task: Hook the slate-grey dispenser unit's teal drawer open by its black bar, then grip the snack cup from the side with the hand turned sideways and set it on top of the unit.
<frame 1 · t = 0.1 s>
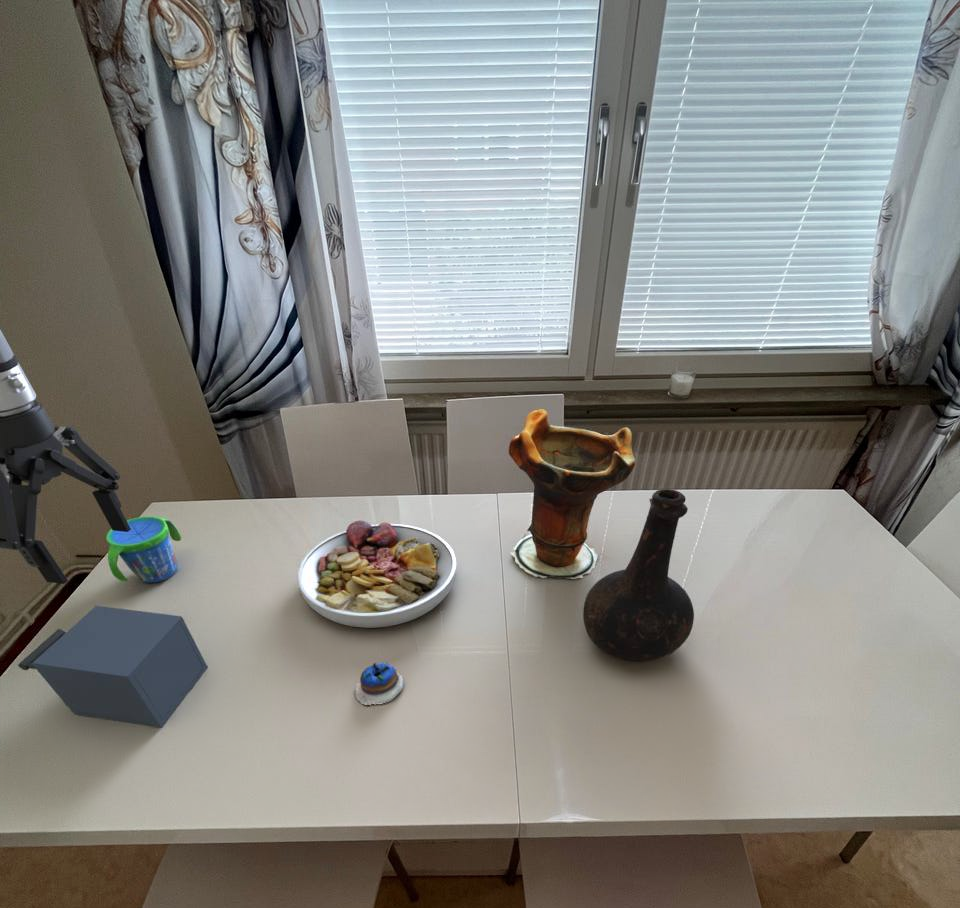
hand: (91, 554, 79), 19 cm above the table, tool pointing down, fingers open, 13 cm apart
drawer: (99, 661, 82), point 6 cm above the table, slide at 0.0 cm, touching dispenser
snack cup: (158, 574, 108), on the table
glass bottle: (629, 642, 93), on the table
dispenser: (144, 689, 85), on the table
bowl: (381, 586, 105), on the table
decorative vase: (559, 557, 112), on the table
dessert: (379, 688, 86), on the table
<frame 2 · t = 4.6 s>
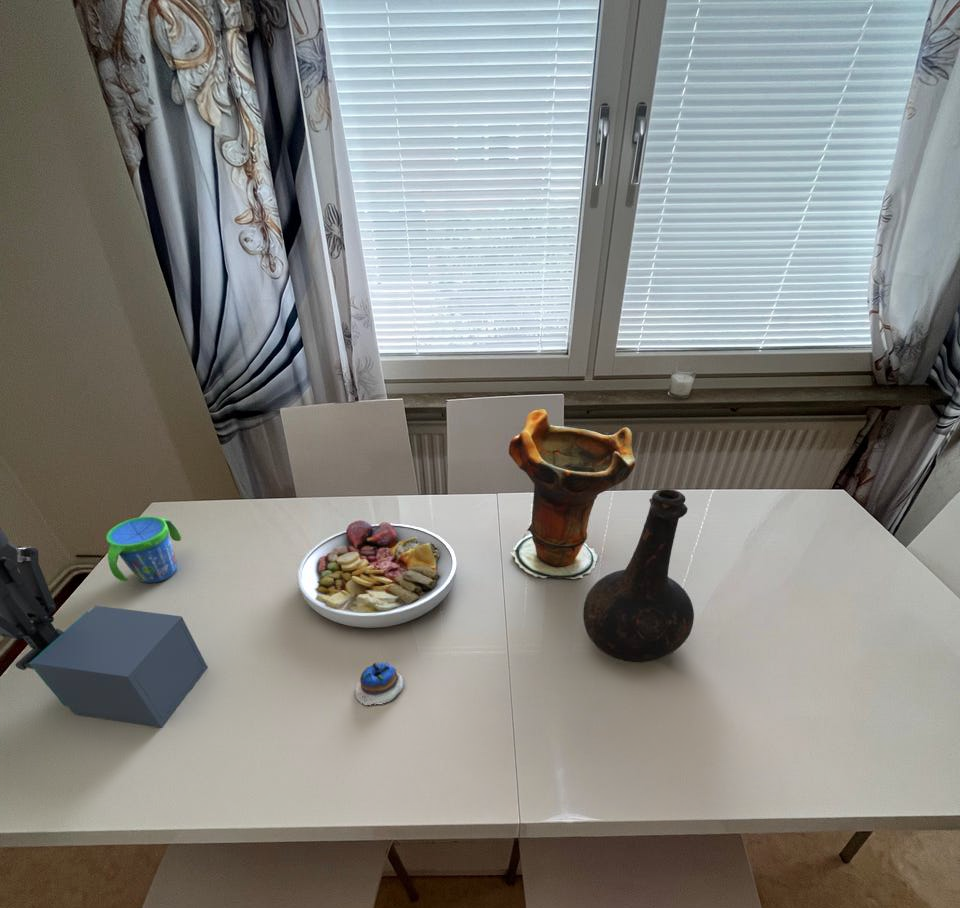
hand: (58, 657, 83), 5 cm above the table, tool pointing down, fingers closed
drawer: (96, 661, 82), point 6 cm above the table, slide at 0.5 cm
everything else where it was.
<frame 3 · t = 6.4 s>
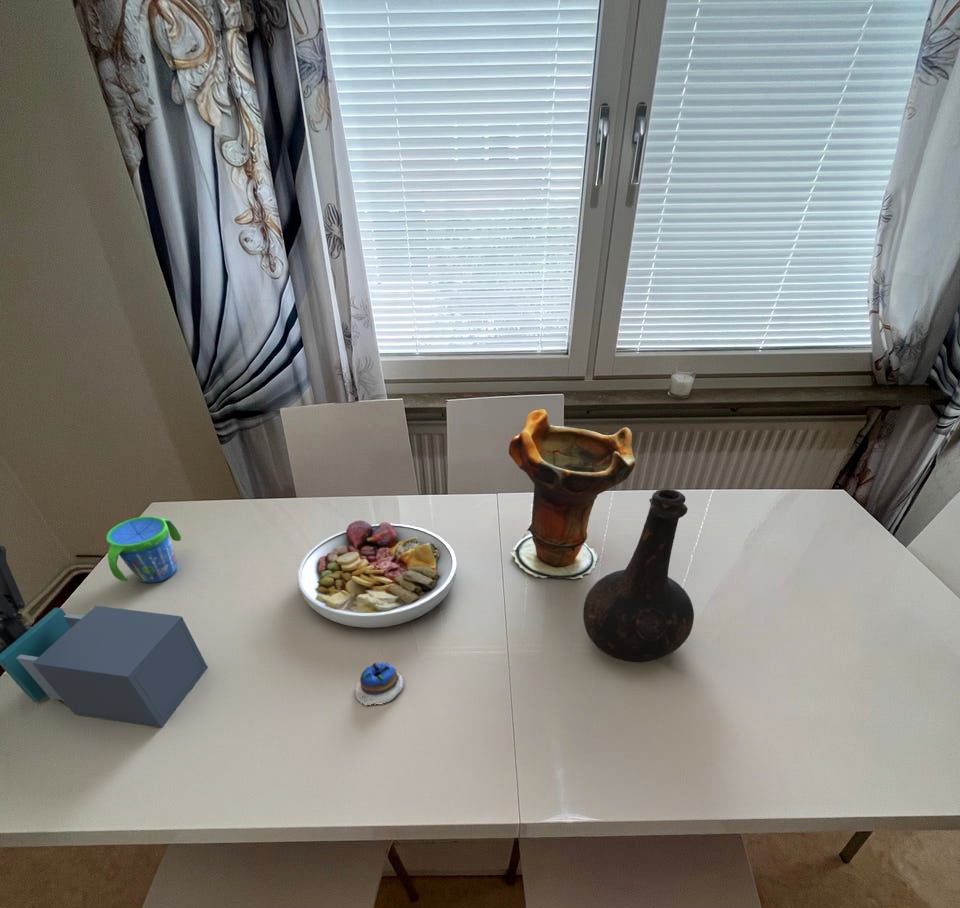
hand: (28, 654, 84), 5 cm above the table, tool pointing down, fingers closed
drawer: (64, 656, 83), point 6 cm above the table, slide at 6.1 cm, touching gripper
everything else where it was.
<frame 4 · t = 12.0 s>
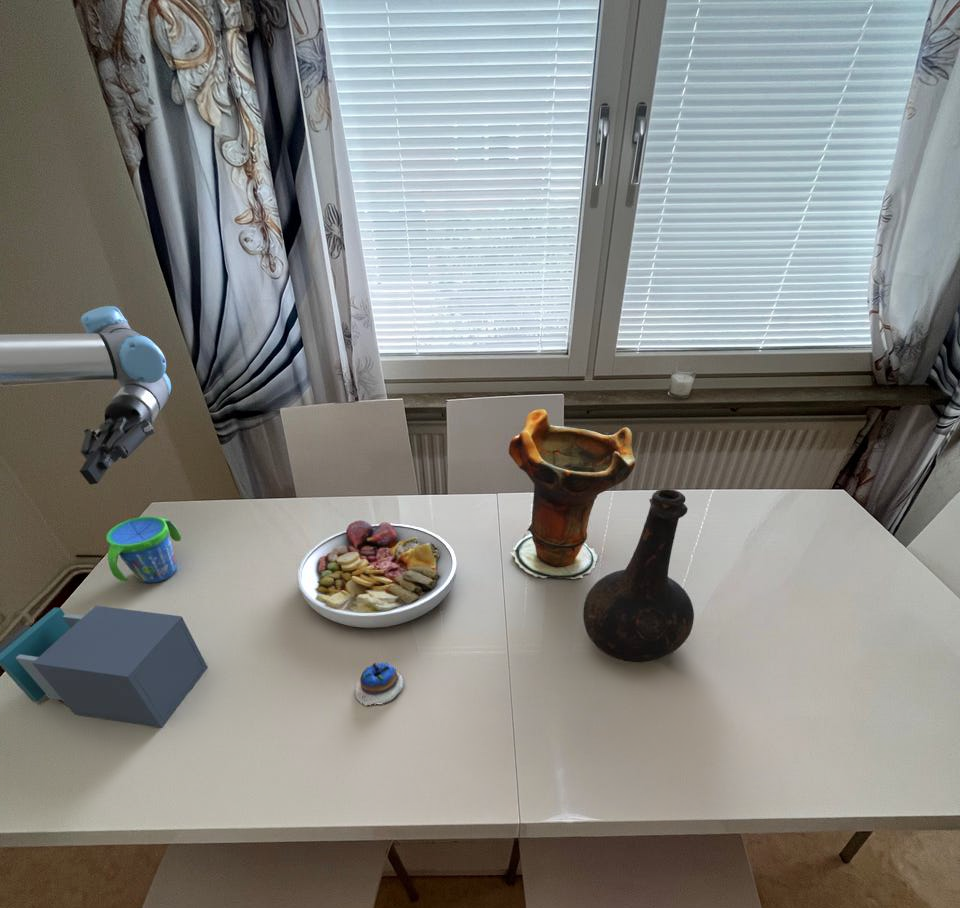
hand: (88, 477, 92), 22 cm above the table, tool horizontal, fingers closed
drawer: (63, 656, 83), point 6 cm above the table, slide at 6.2 cm
everything else where it was.
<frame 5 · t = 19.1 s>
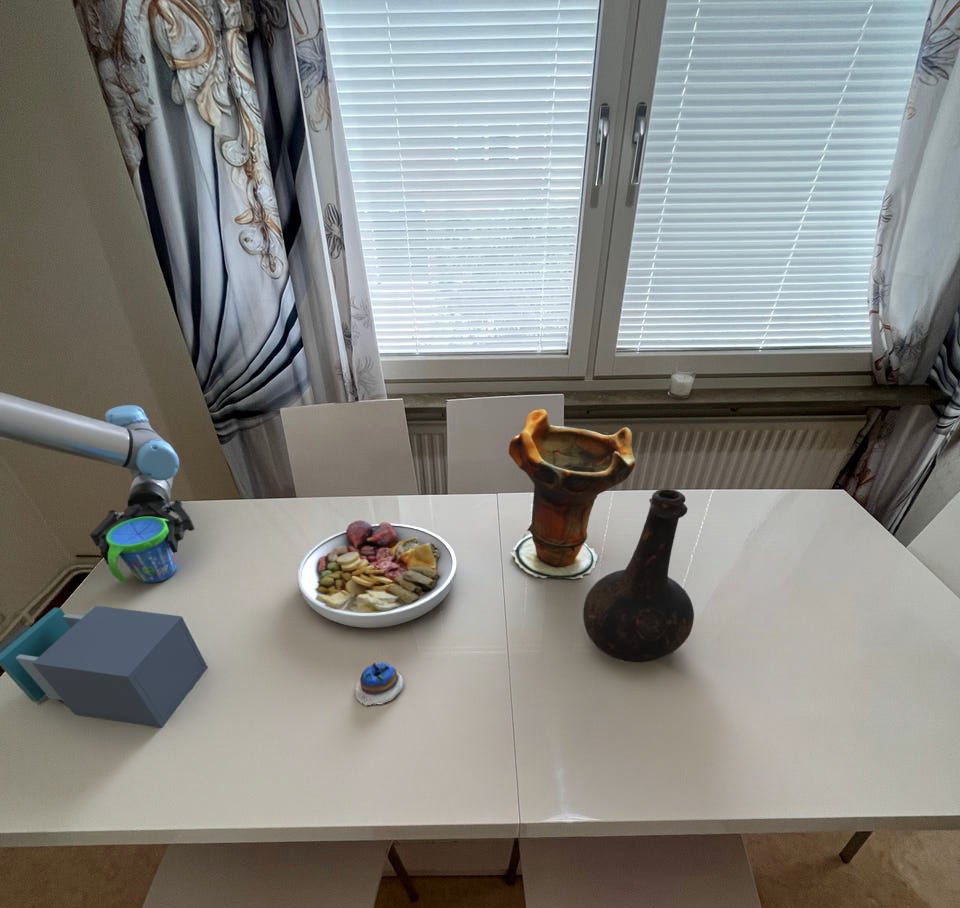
hand: (139, 552, 100), 8 cm above the table, tool horizontal, fingers closed on snack cup, 11 cm apart
snack cup: (158, 574, 108), on the table, touching gripper
everything else where it was.
when the fingers open (19 cm above the table, at t = 29.1 s): snack cup stays where it is, resting on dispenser.
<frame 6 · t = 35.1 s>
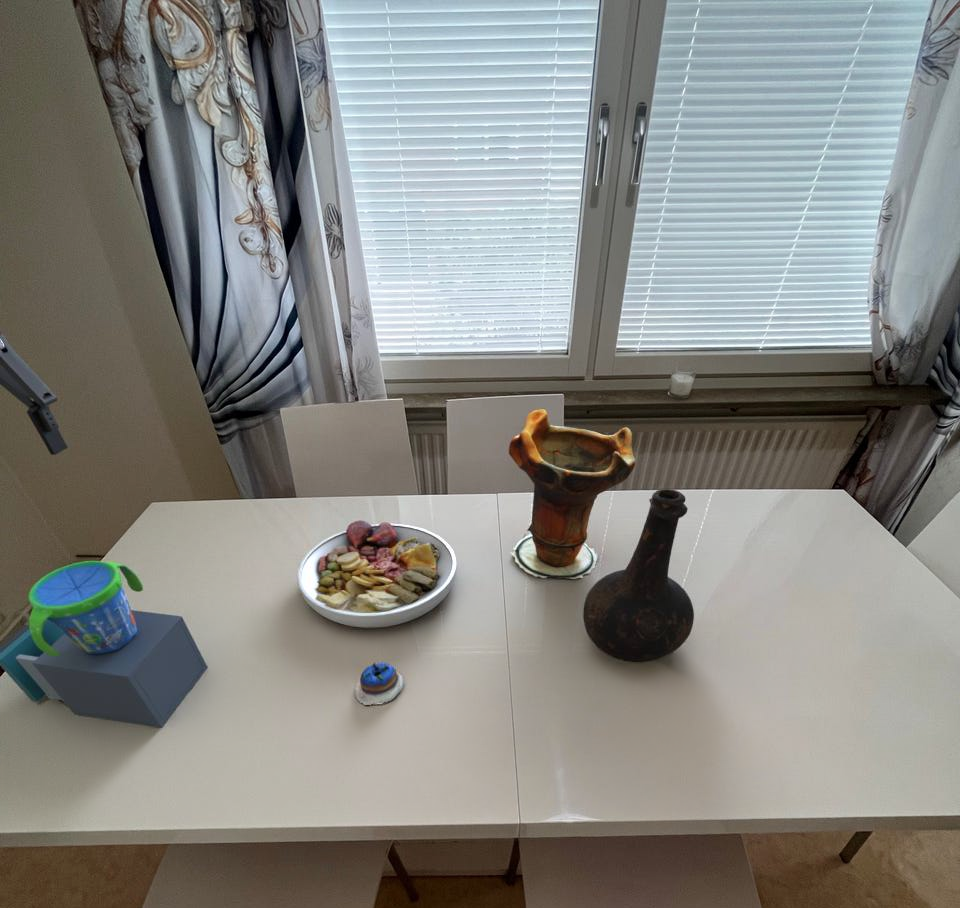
hand: (22, 448, 84), 29 cm above the table, tool pointing down, fingers open, 13 cm apart
snack cup: (111, 639, 78), point 11 cm above the table, touching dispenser
everything else where it was.
at the end: drawer slide at 6.2 cm; snack cup inside the target area on the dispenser (0.0 cm from its centre), point 11.1 cm above the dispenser's base; snack cup tilted 0° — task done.
